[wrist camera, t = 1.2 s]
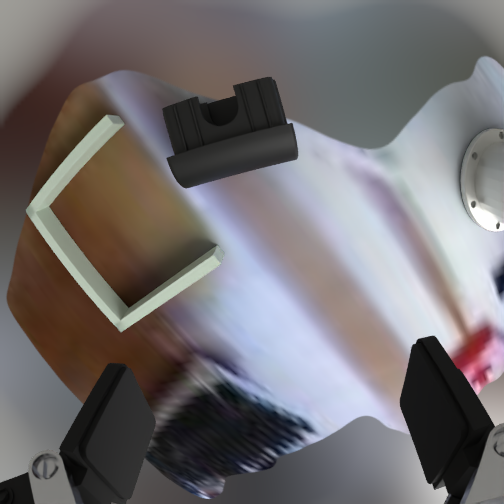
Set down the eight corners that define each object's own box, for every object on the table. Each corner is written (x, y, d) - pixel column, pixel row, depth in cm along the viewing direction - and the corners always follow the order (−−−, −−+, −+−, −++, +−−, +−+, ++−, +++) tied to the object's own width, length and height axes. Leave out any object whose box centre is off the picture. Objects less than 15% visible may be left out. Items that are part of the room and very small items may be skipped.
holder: (118, 115, 28) (106, 114, 25) (224, 253, 32) (221, 264, 30) (39, 204, 31) (25, 210, 28) (129, 319, 36) (121, 332, 33)
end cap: (194, 182, 30) (176, 195, 24) (175, 115, 28) (151, 110, 21) (293, 156, 29) (302, 162, 23) (275, 87, 26) (278, 73, 20)
